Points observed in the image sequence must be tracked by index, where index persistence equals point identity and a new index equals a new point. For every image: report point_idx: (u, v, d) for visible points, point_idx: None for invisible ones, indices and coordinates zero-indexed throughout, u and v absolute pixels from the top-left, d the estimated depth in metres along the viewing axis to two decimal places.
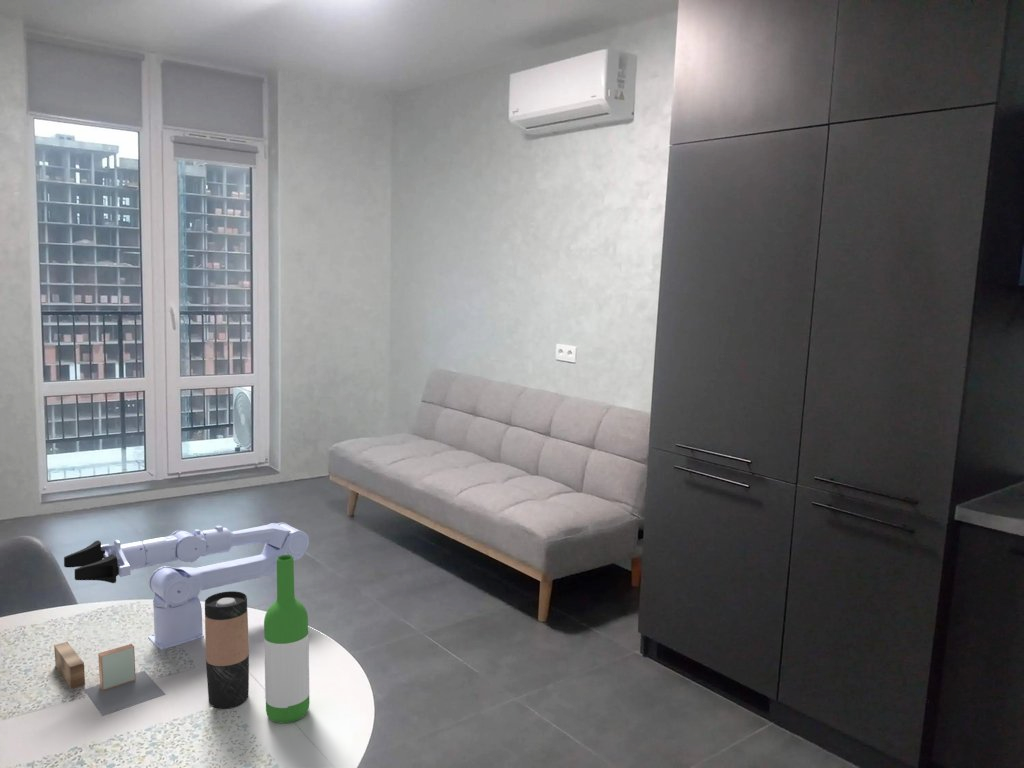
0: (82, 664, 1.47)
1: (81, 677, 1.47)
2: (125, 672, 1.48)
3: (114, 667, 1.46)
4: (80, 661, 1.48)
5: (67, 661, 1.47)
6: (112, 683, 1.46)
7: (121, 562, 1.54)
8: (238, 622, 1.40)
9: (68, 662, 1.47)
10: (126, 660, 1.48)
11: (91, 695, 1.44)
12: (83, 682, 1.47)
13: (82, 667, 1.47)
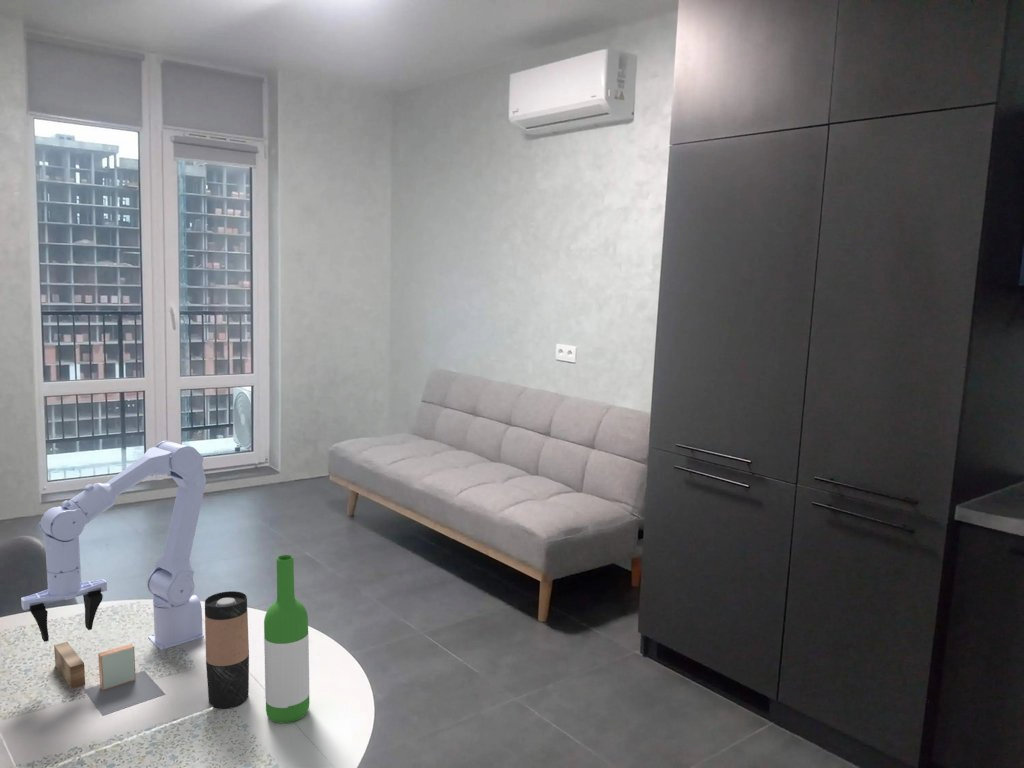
0: (82, 664, 1.47)
1: (81, 677, 1.47)
2: (125, 672, 1.48)
3: (114, 667, 1.46)
4: (80, 661, 1.48)
5: (67, 661, 1.47)
6: (112, 683, 1.46)
7: None
8: (238, 622, 1.40)
9: (68, 662, 1.47)
10: (126, 660, 1.48)
11: (91, 695, 1.44)
12: (83, 682, 1.47)
13: (82, 667, 1.47)
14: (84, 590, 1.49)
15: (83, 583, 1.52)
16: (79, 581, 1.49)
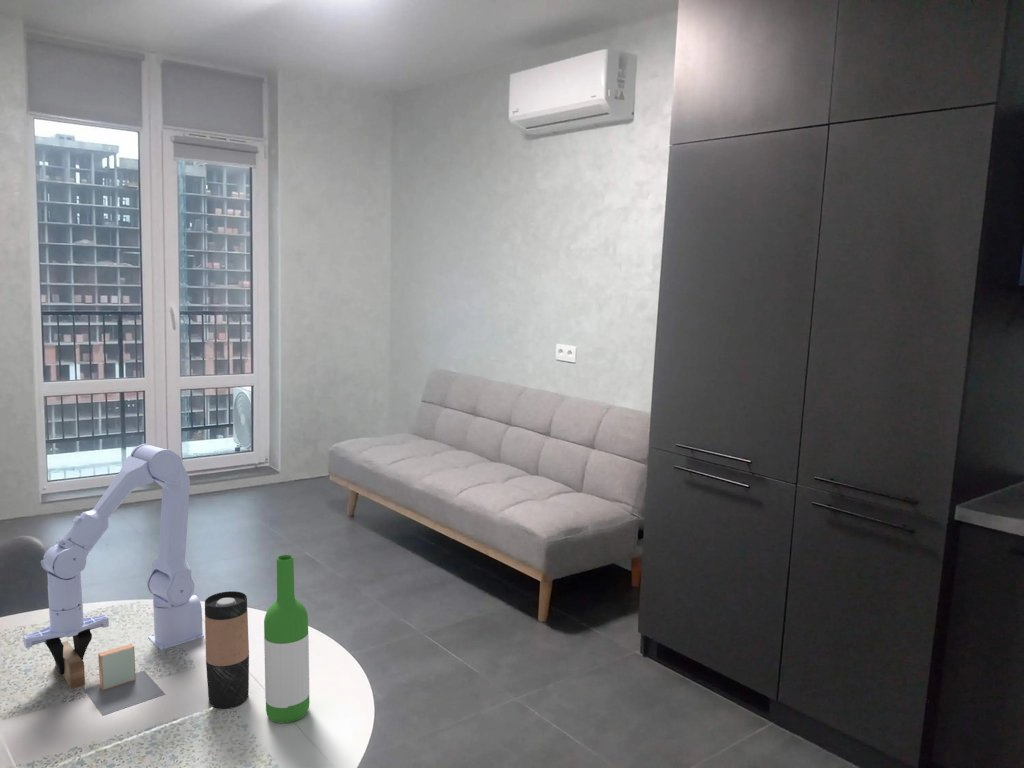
0: (82, 663, 1.47)
1: (81, 676, 1.47)
2: (125, 672, 1.48)
3: (114, 667, 1.46)
4: (80, 660, 1.48)
5: (67, 660, 1.47)
6: (112, 683, 1.46)
7: None
8: (238, 622, 1.40)
9: (68, 661, 1.47)
10: (126, 660, 1.48)
11: (91, 695, 1.44)
12: (83, 681, 1.47)
13: (82, 666, 1.47)
14: (86, 627, 1.50)
15: (85, 619, 1.53)
16: (81, 618, 1.50)
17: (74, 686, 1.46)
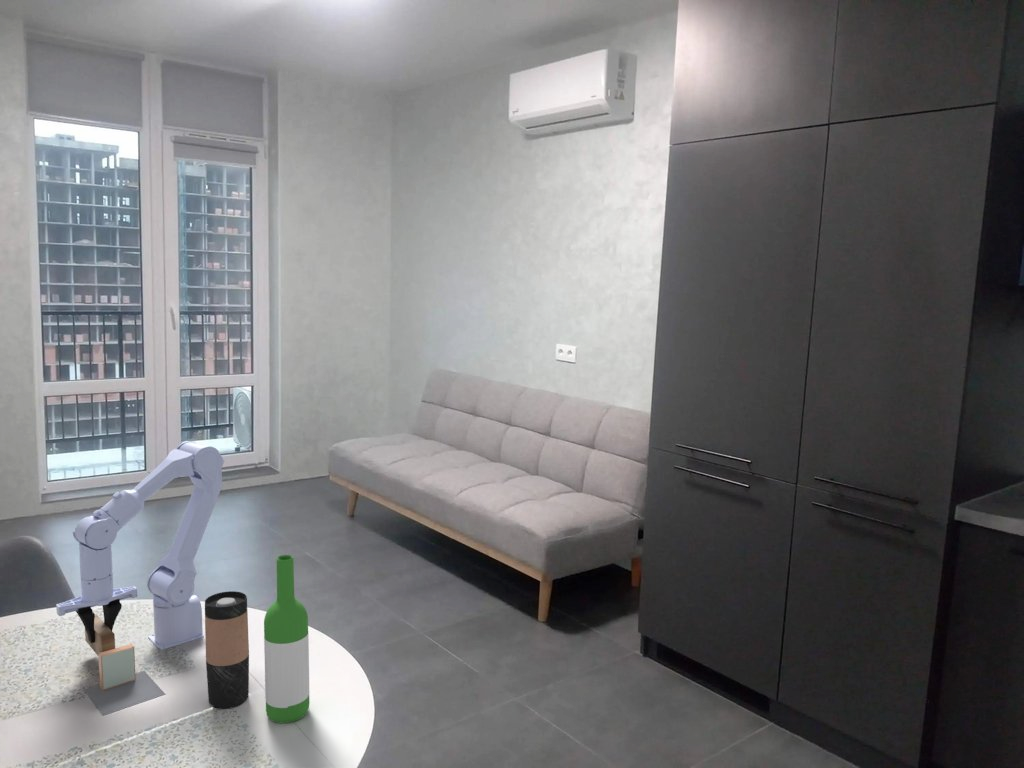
0: (113, 635, 1.51)
1: (112, 648, 1.51)
2: (125, 672, 1.48)
3: (114, 667, 1.46)
4: (111, 632, 1.52)
5: (98, 632, 1.52)
6: (112, 683, 1.46)
7: None
8: (238, 622, 1.40)
9: (99, 633, 1.51)
10: (126, 660, 1.48)
11: (91, 695, 1.44)
12: None
13: (113, 638, 1.51)
14: (116, 596, 1.54)
15: (114, 590, 1.58)
16: (111, 588, 1.54)
17: None
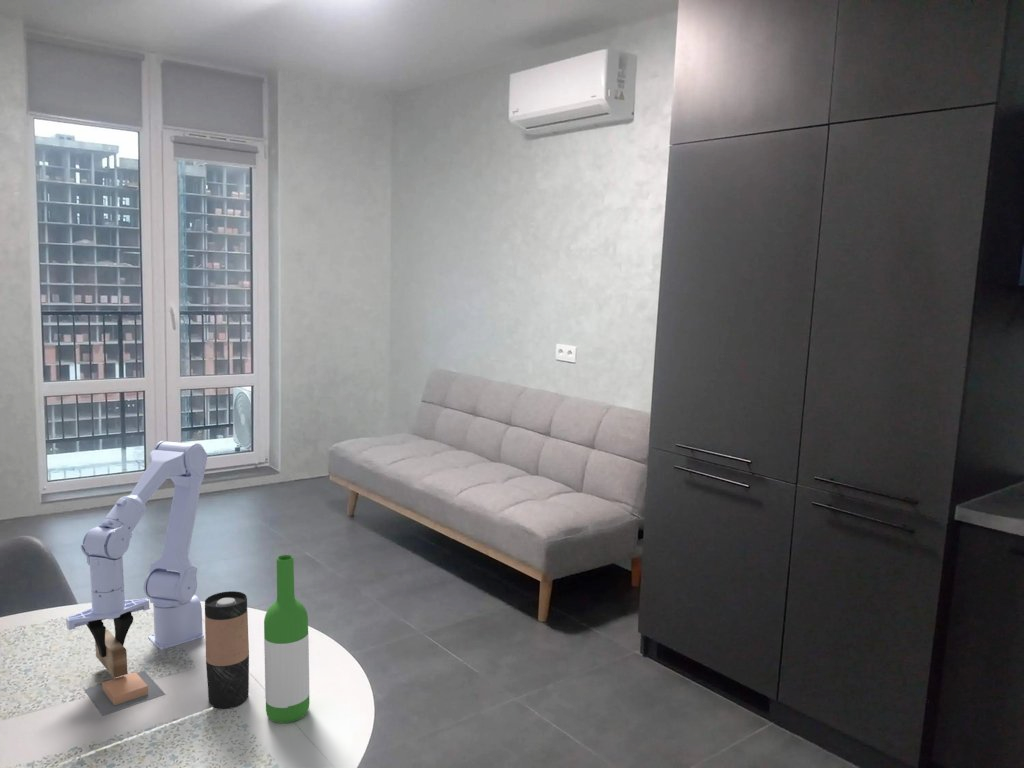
0: (124, 650, 1.46)
1: (124, 664, 1.46)
2: None
3: None
4: (122, 647, 1.47)
5: (109, 648, 1.47)
6: None
7: None
8: (238, 622, 1.40)
9: (110, 649, 1.46)
10: None
11: (91, 695, 1.44)
12: (125, 669, 1.47)
13: (124, 654, 1.46)
14: (128, 609, 1.49)
15: (126, 602, 1.53)
16: (123, 600, 1.49)
17: (117, 673, 1.45)
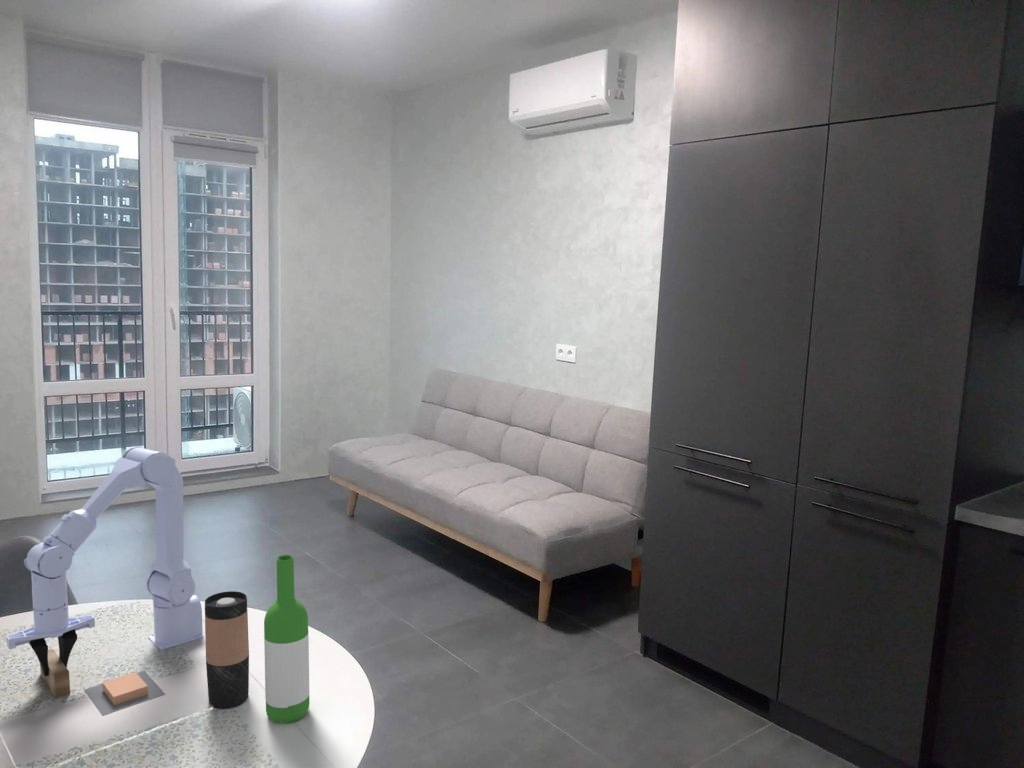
0: (67, 672, 1.43)
1: (66, 686, 1.43)
2: None
3: None
4: (65, 669, 1.44)
5: (52, 669, 1.44)
6: None
7: None
8: (238, 622, 1.40)
9: (53, 670, 1.44)
10: None
11: (91, 695, 1.44)
12: (68, 691, 1.44)
13: (67, 675, 1.43)
14: (71, 627, 1.46)
15: (71, 619, 1.50)
16: (66, 618, 1.46)
17: (59, 696, 1.43)
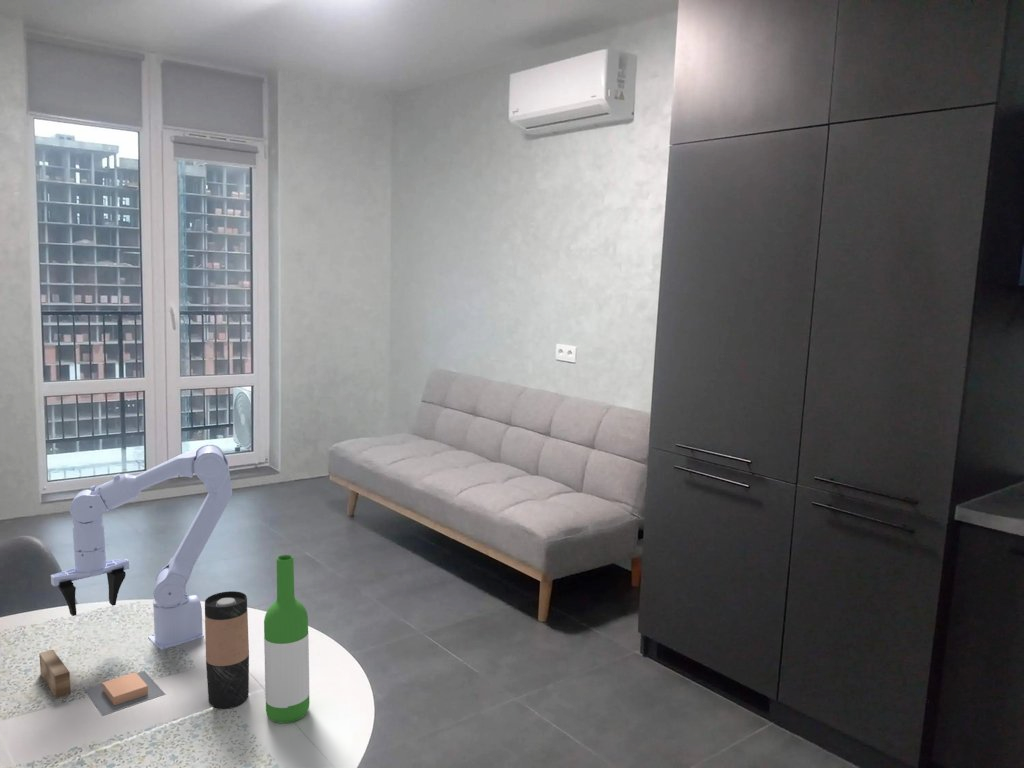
0: (67, 673, 1.43)
1: (67, 686, 1.44)
2: None
3: None
4: (66, 670, 1.44)
5: (52, 670, 1.44)
6: None
7: None
8: (238, 622, 1.40)
9: (53, 671, 1.44)
10: None
11: (91, 695, 1.44)
12: (69, 691, 1.44)
13: (67, 676, 1.43)
14: (109, 568, 1.60)
15: (107, 562, 1.63)
16: (104, 559, 1.60)
17: (59, 696, 1.43)
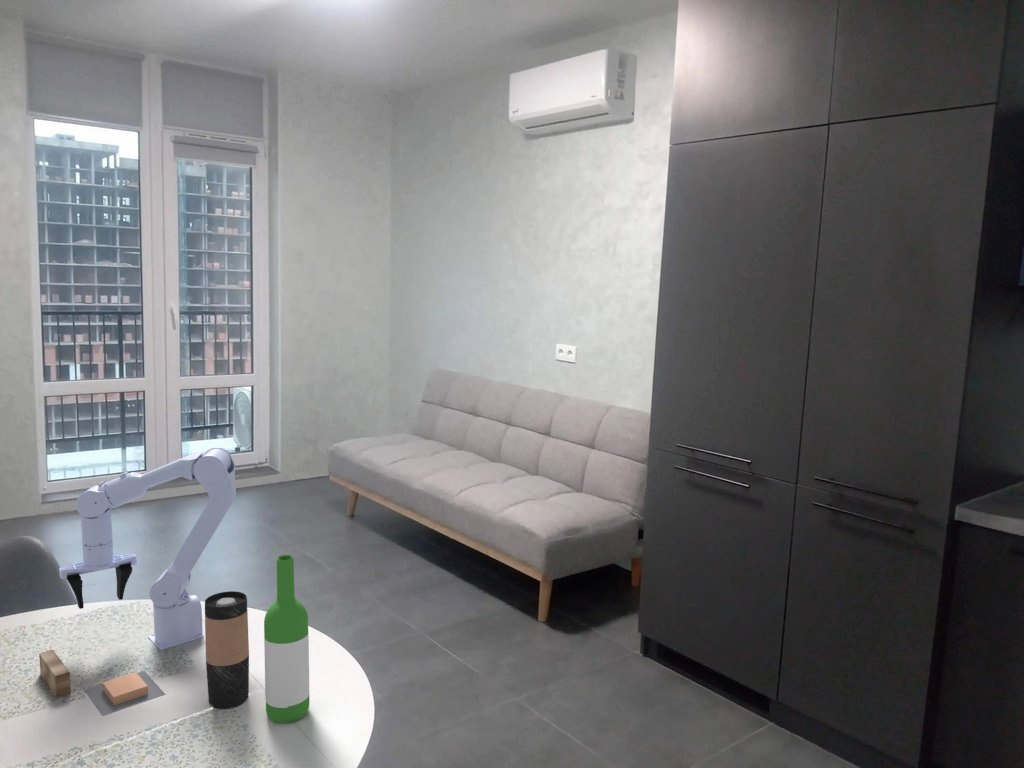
0: (68, 673, 1.43)
1: (67, 686, 1.44)
2: None
3: None
4: (66, 670, 1.44)
5: (52, 670, 1.44)
6: None
7: None
8: (238, 622, 1.40)
9: (53, 671, 1.44)
10: None
11: (91, 695, 1.44)
12: (69, 691, 1.44)
13: (68, 676, 1.43)
14: (115, 563, 1.63)
15: (115, 557, 1.66)
16: (111, 554, 1.63)
17: (59, 696, 1.43)
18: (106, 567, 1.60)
